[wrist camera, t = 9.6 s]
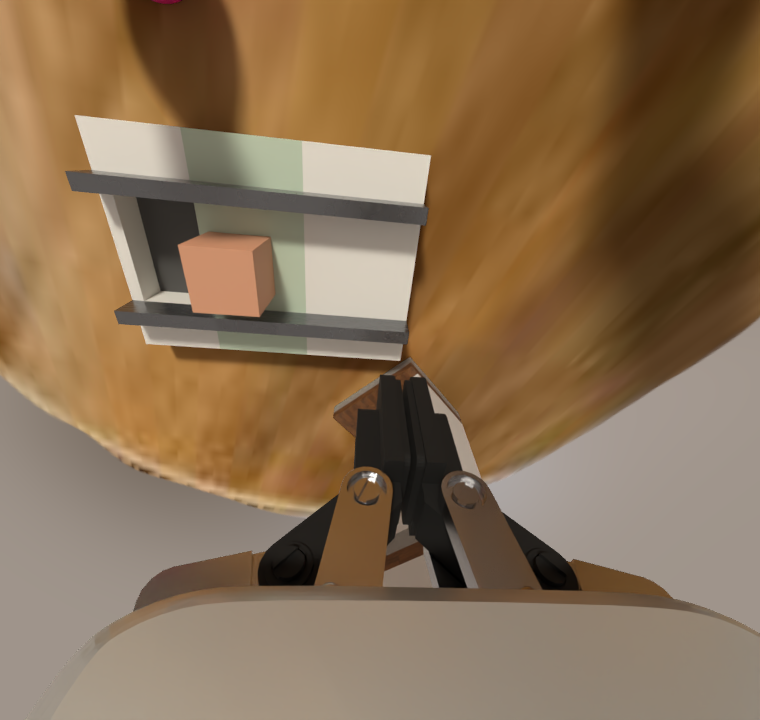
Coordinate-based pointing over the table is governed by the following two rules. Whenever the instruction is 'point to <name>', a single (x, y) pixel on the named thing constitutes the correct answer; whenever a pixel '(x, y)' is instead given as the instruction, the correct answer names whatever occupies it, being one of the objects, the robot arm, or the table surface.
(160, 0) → the pepper mill
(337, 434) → the table surface
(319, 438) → the table surface
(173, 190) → the channel walls
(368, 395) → the display case
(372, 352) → the channel deck
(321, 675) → the robot arm
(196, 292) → the terracotta block
